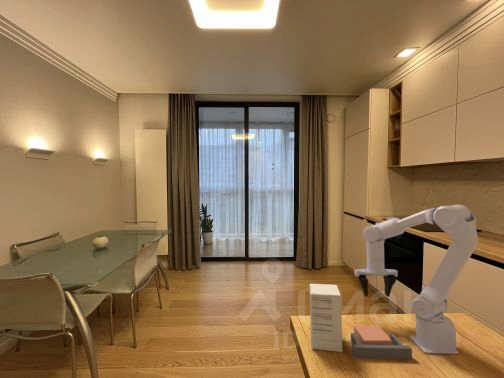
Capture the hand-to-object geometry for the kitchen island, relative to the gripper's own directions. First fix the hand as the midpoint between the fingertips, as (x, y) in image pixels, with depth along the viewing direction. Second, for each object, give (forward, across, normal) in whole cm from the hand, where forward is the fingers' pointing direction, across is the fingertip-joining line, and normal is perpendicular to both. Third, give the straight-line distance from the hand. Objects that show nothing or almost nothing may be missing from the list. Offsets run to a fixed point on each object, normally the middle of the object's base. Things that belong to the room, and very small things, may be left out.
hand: (376, 295), depth 91 cm
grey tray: (+9, +7, +16) cm, 20 cm away
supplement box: (+10, +21, +13) cm, 27 cm away
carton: (+10, +7, +14) cm, 19 cm away
